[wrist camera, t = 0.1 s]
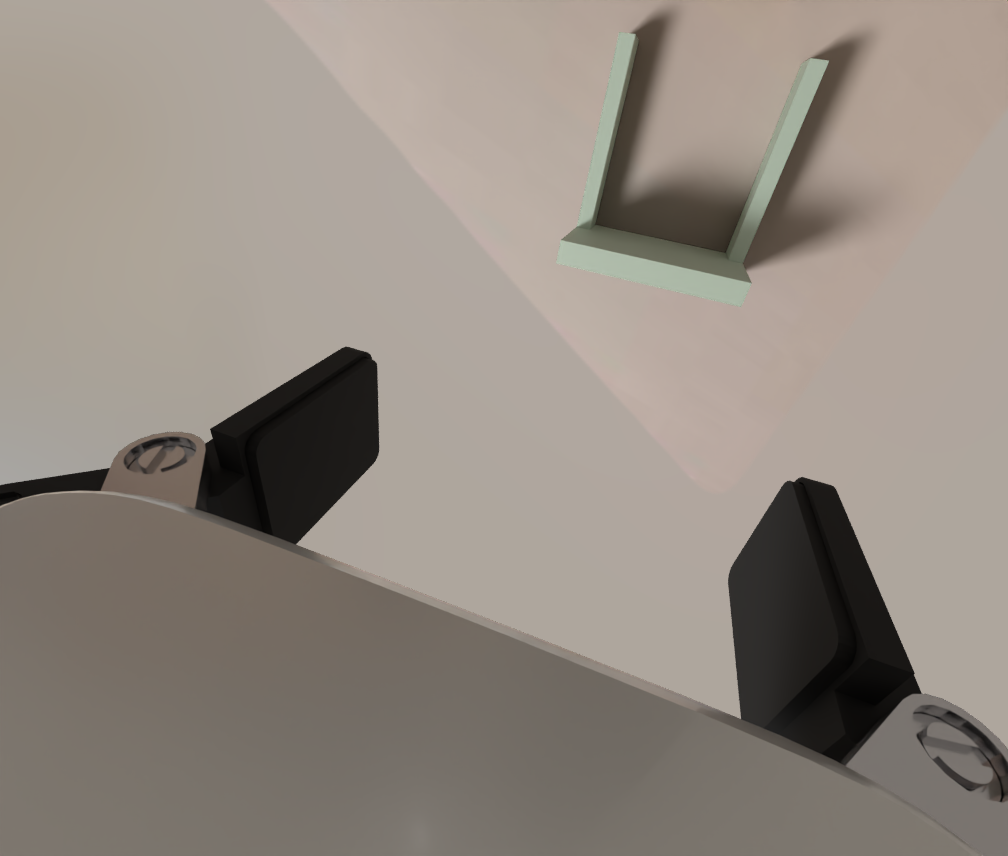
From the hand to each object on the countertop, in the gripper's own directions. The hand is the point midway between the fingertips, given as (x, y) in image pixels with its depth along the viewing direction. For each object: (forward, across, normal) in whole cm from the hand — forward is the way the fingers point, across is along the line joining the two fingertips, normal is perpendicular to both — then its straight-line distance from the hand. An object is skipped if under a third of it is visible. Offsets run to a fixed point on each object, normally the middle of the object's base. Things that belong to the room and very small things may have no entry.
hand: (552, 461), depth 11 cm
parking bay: (+31, -1, -5) cm, 32 cm away
